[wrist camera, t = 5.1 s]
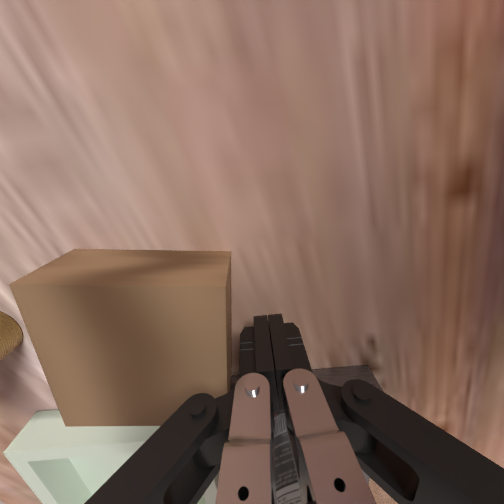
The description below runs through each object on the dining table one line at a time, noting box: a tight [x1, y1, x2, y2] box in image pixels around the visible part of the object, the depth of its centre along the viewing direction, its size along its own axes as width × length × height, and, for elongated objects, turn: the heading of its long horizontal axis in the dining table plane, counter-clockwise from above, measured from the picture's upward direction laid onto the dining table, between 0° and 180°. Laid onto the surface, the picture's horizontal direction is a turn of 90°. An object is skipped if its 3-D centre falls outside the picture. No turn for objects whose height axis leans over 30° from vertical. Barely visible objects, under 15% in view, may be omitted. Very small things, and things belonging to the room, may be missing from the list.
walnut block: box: [9, 249, 232, 427], centre depth 12 cm, size 8×8×4 cm
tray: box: [3, 410, 220, 504], centre depth 18 cm, size 12×12×2 cm
